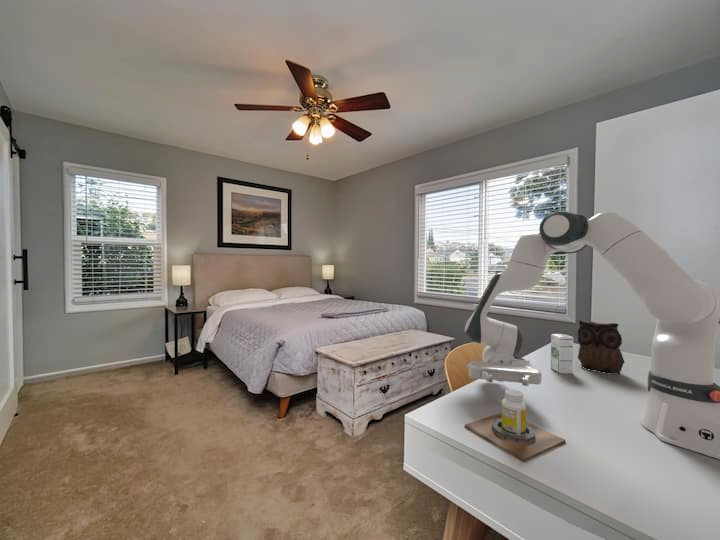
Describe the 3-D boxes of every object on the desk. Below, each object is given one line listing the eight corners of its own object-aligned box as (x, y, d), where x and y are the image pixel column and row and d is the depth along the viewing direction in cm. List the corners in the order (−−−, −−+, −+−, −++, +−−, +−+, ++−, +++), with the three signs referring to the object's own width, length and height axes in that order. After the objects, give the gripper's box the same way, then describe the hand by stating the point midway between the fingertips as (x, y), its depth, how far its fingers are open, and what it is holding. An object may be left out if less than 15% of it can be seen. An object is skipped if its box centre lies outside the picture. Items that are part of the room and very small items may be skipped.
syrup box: (573, 373, 121) (574, 337, 121) (558, 373, 121) (559, 336, 121) (564, 368, 127) (565, 333, 127) (549, 368, 127) (550, 333, 127)
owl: (625, 375, 120) (627, 324, 120) (591, 374, 121) (592, 323, 121) (603, 365, 133) (604, 318, 132) (572, 363, 134) (573, 318, 134)
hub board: (565, 442, 73) (565, 435, 73) (523, 462, 65) (523, 454, 65) (505, 413, 87) (505, 407, 87) (464, 426, 79) (465, 420, 79)
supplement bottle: (520, 426, 79) (521, 388, 79) (529, 438, 73) (530, 397, 73) (498, 425, 79) (499, 387, 79) (505, 436, 74) (506, 396, 74)
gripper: (466, 354, 104) (468, 366, 91) (534, 359, 98) (547, 373, 85) (466, 373, 104) (468, 388, 91) (533, 379, 98) (547, 396, 85)
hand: (507, 381), depth 88 cm, fingers open, 8 cm apart
